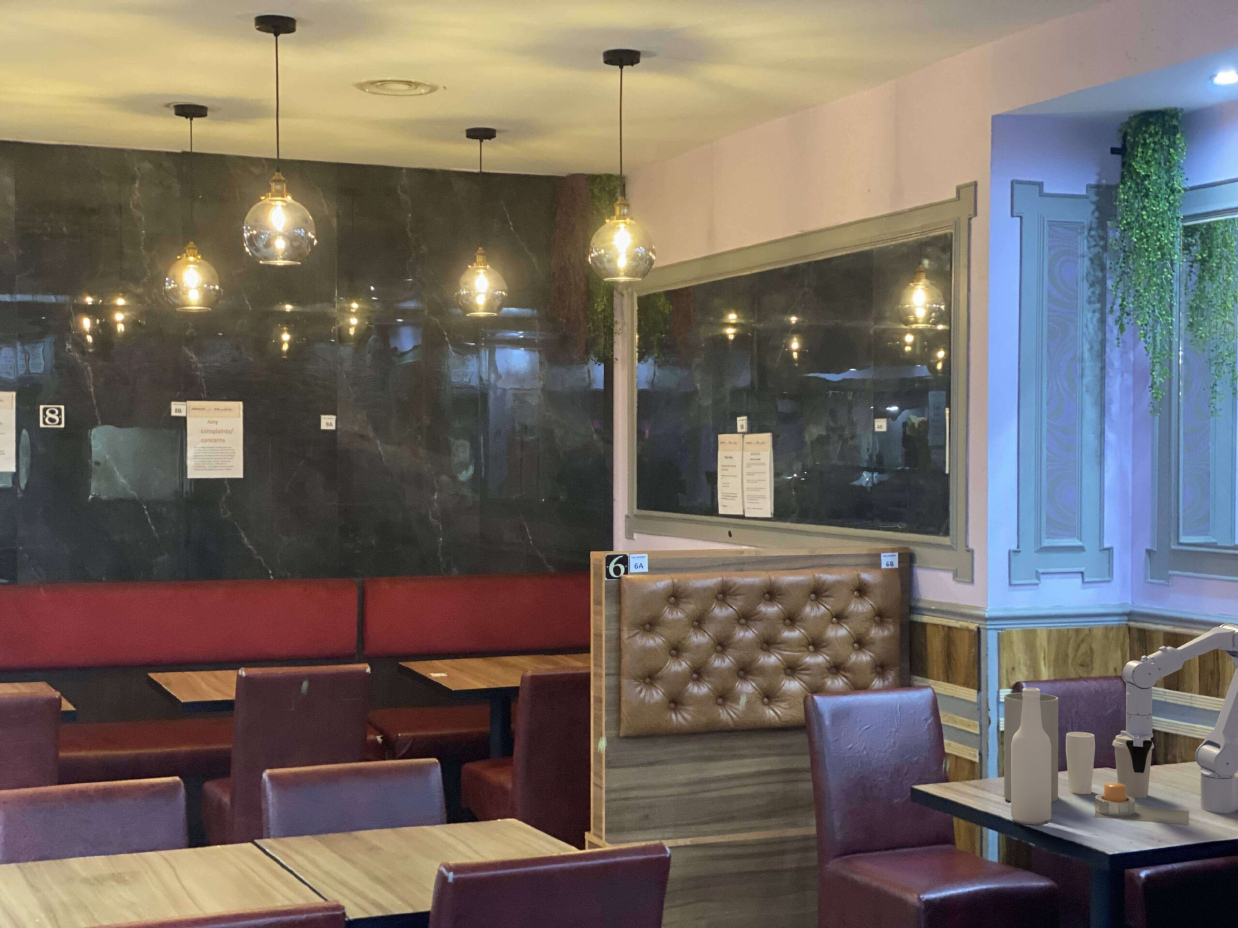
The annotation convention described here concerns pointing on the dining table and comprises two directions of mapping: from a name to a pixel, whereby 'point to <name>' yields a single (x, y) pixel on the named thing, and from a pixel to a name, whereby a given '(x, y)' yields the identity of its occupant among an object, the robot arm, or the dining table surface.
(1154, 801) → the dining table surface
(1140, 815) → the board
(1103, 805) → the beige faceted ring
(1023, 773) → the alcohol
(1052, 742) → the cylinder vase
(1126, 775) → the coffee cup
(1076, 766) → the drinking glass
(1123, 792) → the orange block
